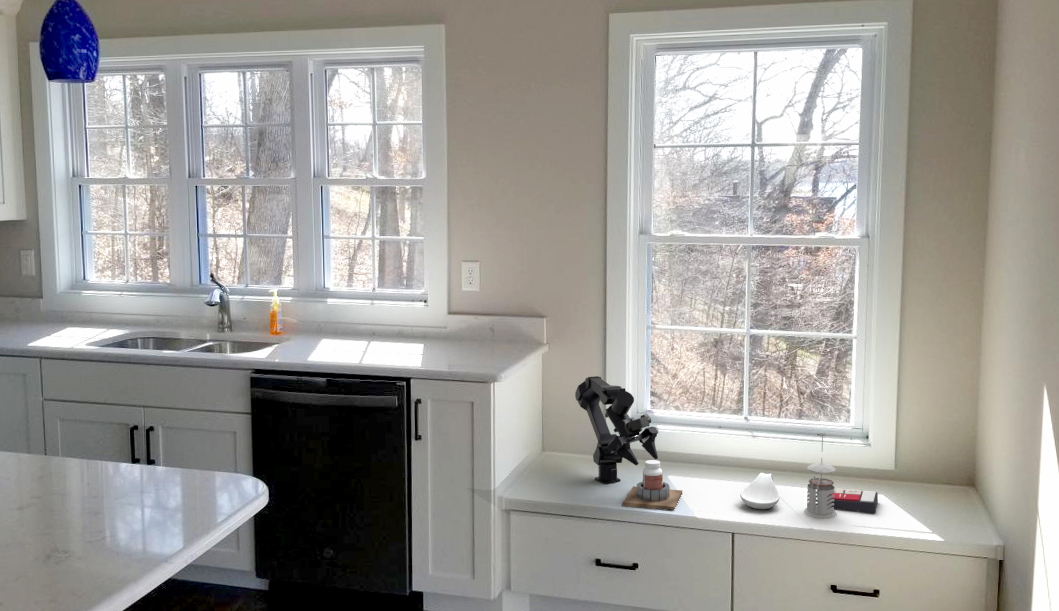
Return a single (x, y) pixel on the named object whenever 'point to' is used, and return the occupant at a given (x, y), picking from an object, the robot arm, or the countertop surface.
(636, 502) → the socket plate
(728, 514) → the countertop surface
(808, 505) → the french press
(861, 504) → the black box
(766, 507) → the spoon rest
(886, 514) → the countertop surface
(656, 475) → the pill bottle
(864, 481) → the countertop surface
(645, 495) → the collar
